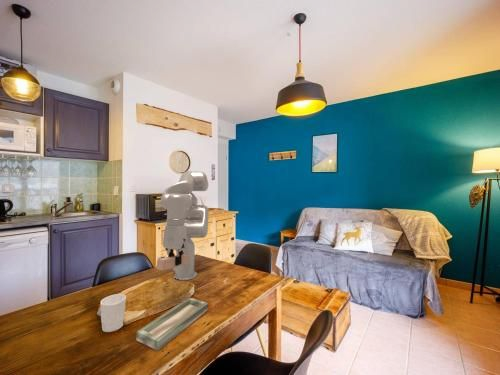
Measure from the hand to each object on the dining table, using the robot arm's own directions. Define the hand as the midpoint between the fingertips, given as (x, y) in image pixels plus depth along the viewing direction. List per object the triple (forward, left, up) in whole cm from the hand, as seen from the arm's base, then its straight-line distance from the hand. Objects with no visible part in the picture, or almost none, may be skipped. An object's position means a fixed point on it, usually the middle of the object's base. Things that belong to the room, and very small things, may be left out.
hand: (174, 263), depth 98 cm
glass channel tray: (+12, -11, -18) cm, 23 cm away
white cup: (-7, -23, -18) cm, 30 cm away
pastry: (-19, -17, -18) cm, 31 cm away
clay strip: (0, -1, -1) cm, 1 cm away
